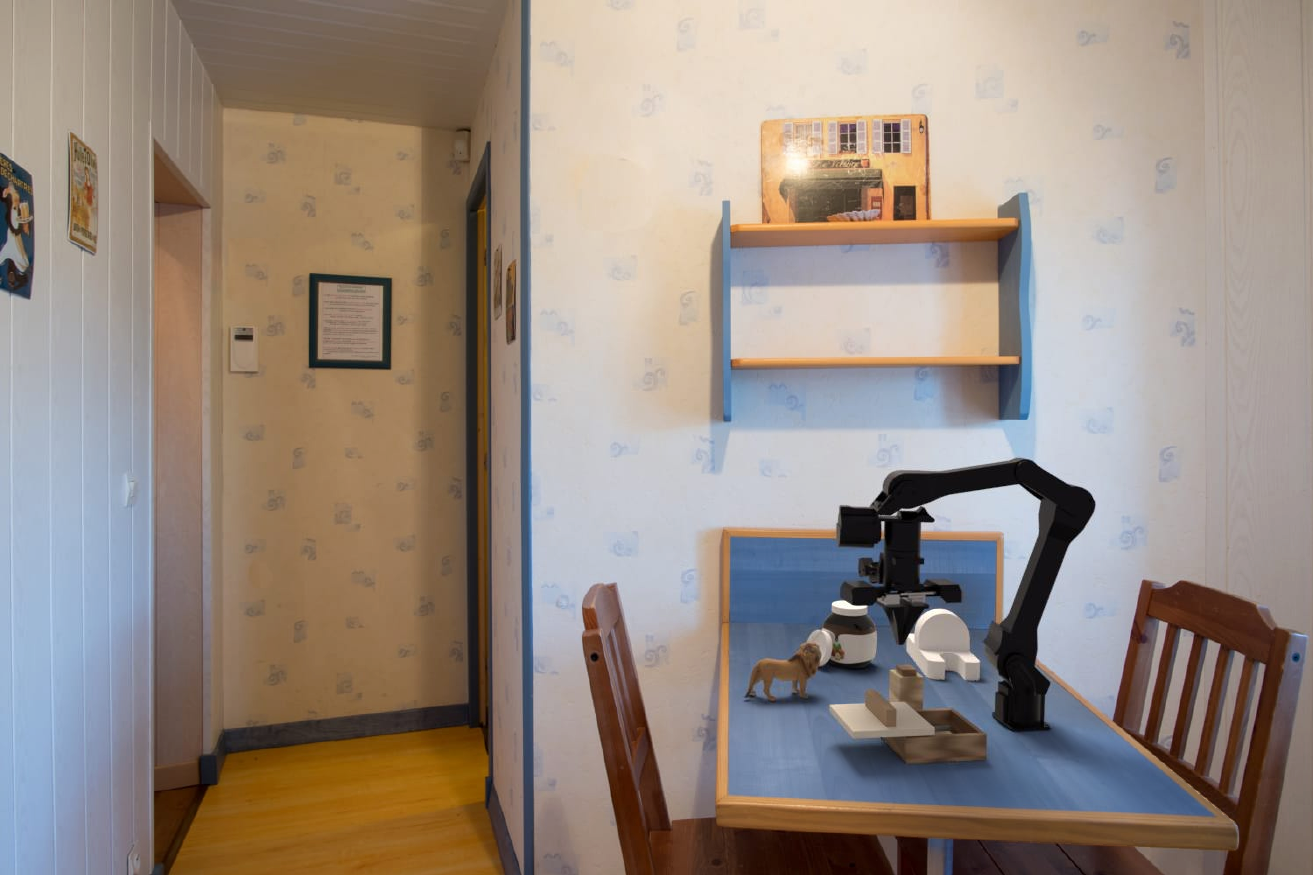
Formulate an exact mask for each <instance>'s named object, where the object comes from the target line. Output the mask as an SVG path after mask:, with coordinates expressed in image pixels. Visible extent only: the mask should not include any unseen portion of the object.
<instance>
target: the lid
mask: <svg viewBox="0 0 1313 875" xmlns="http://www.w3.org/2000/svg"><path fill="white" fill-rule="evenodd" d="M864 690H865V693H864V695H865V697H864V698H865V699H864V702H863V703H845V704H844V703H842V704H841V703H840V704H839V703H838V704H829V712H830V714H831V715H832V716H833V717H834V718H835V720H836V721H837V722H838V723H839V724H840V725H841V726H842V728H843V729H844V730H845V731H846V732H847V733H848V735H849V736H850V738H852V739H853V740H854V739H870V738H871V739H872V738H873V739H874V738H881V737H899V736H921V735H934V734H935V728H934V727H933V726H932V725H931V724H930V723H928V722H927V721H926V720H925V719H924V718H923V717H922V716H920V715H919V714H918V713H917V712H916V711H915V710H914V709H912V708H911V707H910V706H909V705H908V704H907V703H906V702H889V700H887V699H886V698H885V697H884V696H883V695H882V694H880V693H879V692H878V690H876V689H864Z"/></svg>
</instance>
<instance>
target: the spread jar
mask: <svg viewBox="0 0 1313 875" xmlns="http://www.w3.org/2000/svg"><path fill="white" fill-rule="evenodd" d="M876 627H877V626H876V624H875V621H873V619H872V618H871V617H870V616H869V615H868V606H854V605H851V604H850V603H848V602H846V601H845V600H835V601H833V602H832V603H831V613H830V614H828V616H827V617H825V620H824V621H823V623H822V629H815V630H814V631H812V632H811V633H810V635H809V636H808V638H807V640H806V642H813V643H816V644H817V645H819V649H820V651H821V654H822V655H821V660H820V665H819V667H823V666H825V665H826V664H827V663H828V662H829V663H830V664H831V665H833V666H834V667H837V668H840V669H841V668H842V669H846V668H859V669H862V668H865V667H867V666H869V664H870V663H872V661H873V660H874V659H875V657H876V654H877V643H878V642H877V633H878V632H877V628H876Z"/></svg>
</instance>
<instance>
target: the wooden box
mask: <svg viewBox="0 0 1313 875" xmlns="http://www.w3.org/2000/svg"><path fill="white" fill-rule="evenodd" d="M915 711H916V712H917V713H918V714H919V715H920V716H922V717H923V718H924V719H925V720H926V721H927V722H928V723H930V724H931V725H932V726H933V727H934V728H935V734H934V735H921V736H899V737H882V738H883V739H884V740H885V741H886V742H885V741H884V740H883V739H882V738H881V739H882V740H883V741H884V742H885V743H886V744H887V745H888V746H889V748H890V749H892V751H893V752H894V753H895V754H896V755H897V756H898V757H899V758H900V759H901V760H902V761H903V762H904V763H905V765H912V764H930V763H931V764H932V763H950V762H951V761H952V762H953V761H955V762H971V761H972V762H973V761H974V760H975V761H986V760H987V744H988V743H987V742H988V741H987V740H988V738H987V737H988V734H986V733H985V732H984V731H983V730H982V729H980V728H979V727H978V726H977V725H976V724H974V723H972V722H971V721H970V720H968V718H966V717H965V716H964V715H962V714H961V713H960V712H958V711H957V710H956V709H955V708H953V707H949V708H947V707H945V708H944V707H943V708H923V709H918V710H915ZM952 762H951V763H952ZM953 763H954V762H953Z"/></svg>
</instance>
